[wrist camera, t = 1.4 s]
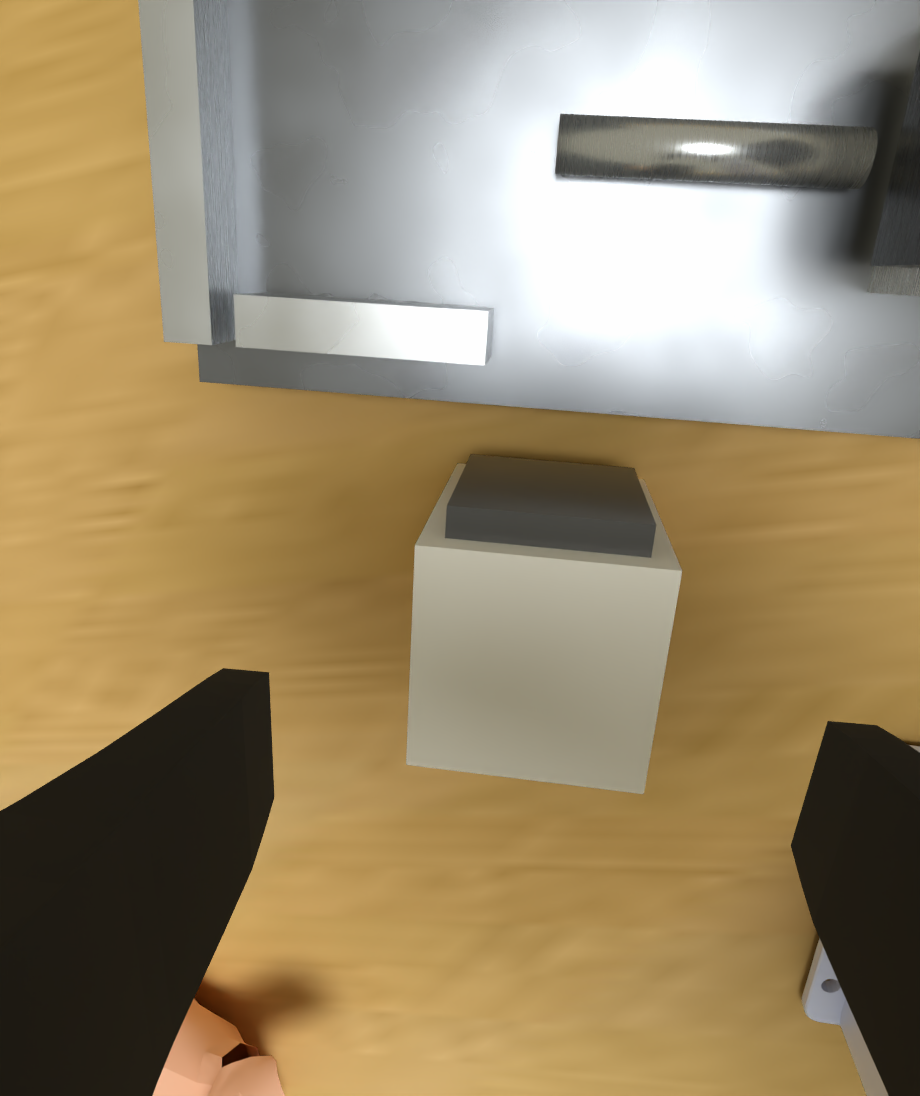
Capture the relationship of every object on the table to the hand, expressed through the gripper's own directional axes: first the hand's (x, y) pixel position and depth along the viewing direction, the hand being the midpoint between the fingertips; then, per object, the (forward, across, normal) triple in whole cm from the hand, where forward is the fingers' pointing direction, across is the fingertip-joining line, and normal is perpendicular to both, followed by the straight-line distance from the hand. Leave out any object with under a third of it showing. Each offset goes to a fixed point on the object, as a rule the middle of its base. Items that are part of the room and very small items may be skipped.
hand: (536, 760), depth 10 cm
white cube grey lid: (+10, -1, +1) cm, 10 cm away
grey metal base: (+10, -2, -8) cm, 13 cm away
